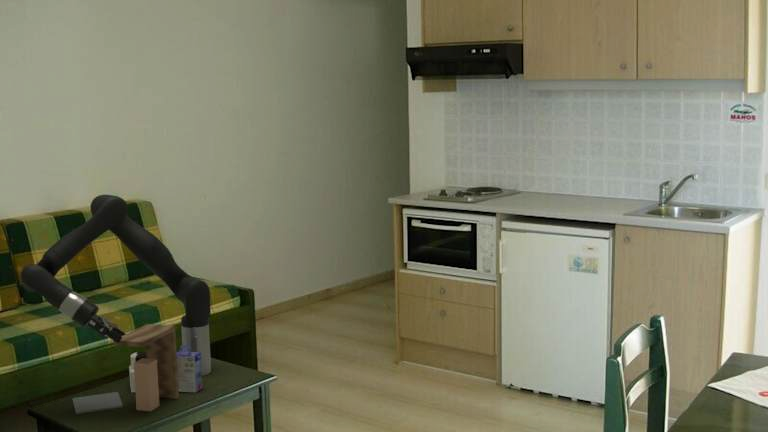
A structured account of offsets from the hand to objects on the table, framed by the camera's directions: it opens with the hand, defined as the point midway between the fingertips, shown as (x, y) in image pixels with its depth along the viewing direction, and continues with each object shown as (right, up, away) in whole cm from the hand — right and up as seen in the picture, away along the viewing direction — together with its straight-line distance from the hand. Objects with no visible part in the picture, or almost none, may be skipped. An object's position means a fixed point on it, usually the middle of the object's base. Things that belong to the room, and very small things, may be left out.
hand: (123, 339), depth 279 cm
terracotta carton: (+6, -22, +6) cm, 24 cm away
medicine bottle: (-1, -20, +25) cm, 32 cm away
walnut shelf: (+6, -22, +8) cm, 24 cm away
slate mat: (-11, -22, +11) cm, 27 cm away
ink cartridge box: (+14, -20, +22) cm, 33 cm away
